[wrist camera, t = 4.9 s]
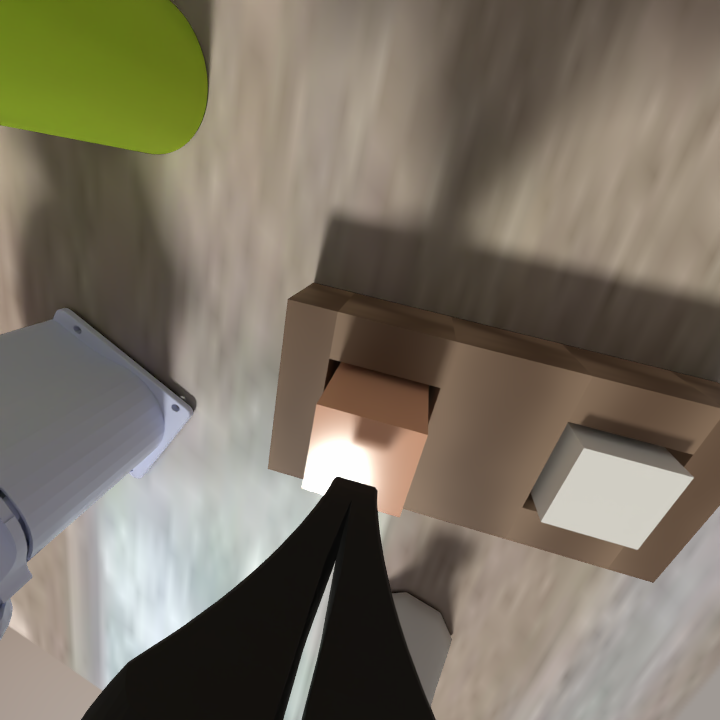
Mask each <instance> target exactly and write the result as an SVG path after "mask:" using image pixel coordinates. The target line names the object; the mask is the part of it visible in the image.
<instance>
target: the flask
mask: <svg viewBox="0 0 720 720" xmlns="http://www.w3.org/2000/svg"><path fill="white" fill-rule="evenodd" d="M392 596H393V600H394V604H395V607H396V611H397V614H398V618H399V621H400V624H401V627H402V631H403V634H404V637H405V640H406V643H407V646H408V649H409V652H410V654H411V657H412V660H413V663H414V665H415V668H416V671H417V674H418V676H419V679H420V682H421V684H422V687H423V690H424V692H425V695H426V697H427V700H428V702H429V705H430V707H431V703H432V700H433V696H434V693H435V690H436V687H437V684H438V681H439V678H440V675H441V672H442V669H443V666H444V663H445V660H446V657H447V654H448V651H449V647H450V644H451V641H452V638H451V636H450V634H449V631H448V629H447V627H446V625H445V622H444V620H443V618H442V615H441V613H440V612H438V611H437V610H435V609H433V608H432V607H430V606H428V605H427V604H425V603H423V602H422V601H420V600H418V599H417V598H415V597H413V596H412V595H410V594H408V593H407V592H403V593H392Z"/></svg>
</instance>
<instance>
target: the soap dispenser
mask: <svg viewBox="0 0 720 720" xmlns="http://www.w3.org/2000/svg"><path fill="white" fill-rule="evenodd" d="M207 94H208V81H207V71H206V65H205V61H204V57H203V53H202V50H201V47H200V44H199V42H198V40H197V37H196V35H195V33H194V31H193V29H192V28H191V26H190V24H189V23H188V21H187V20H186V18H185V17H184V15H183V14H182V13H181V12H180V11H179V9H178V8H177V7H176V6H175V5H174V4H173V3H172V2H171V1H169V0H0V125H2V126H8V127H13V128H18V129H23V130H29V131H34V132H39V133H44V134H50V135H55V136H60V137H65V138H70V139H76V140H81V141H86V142H91V143H97V144H102V145H107V146H112V147H117V148H123V149H128V150H133V151H138V152H144V153H149V154H166V153H170V152H173V151H176V150H178V149H179V148H181V147H183V146H184V145H185V144H186V143H187V142H189V141H190V139H191V138H192V137H193V136H194V134H195V133H196V131H197V130H198V128H199V126H200V124H201V122H202V119H203V116H204V113H205V108H206V103H207Z"/></svg>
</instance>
